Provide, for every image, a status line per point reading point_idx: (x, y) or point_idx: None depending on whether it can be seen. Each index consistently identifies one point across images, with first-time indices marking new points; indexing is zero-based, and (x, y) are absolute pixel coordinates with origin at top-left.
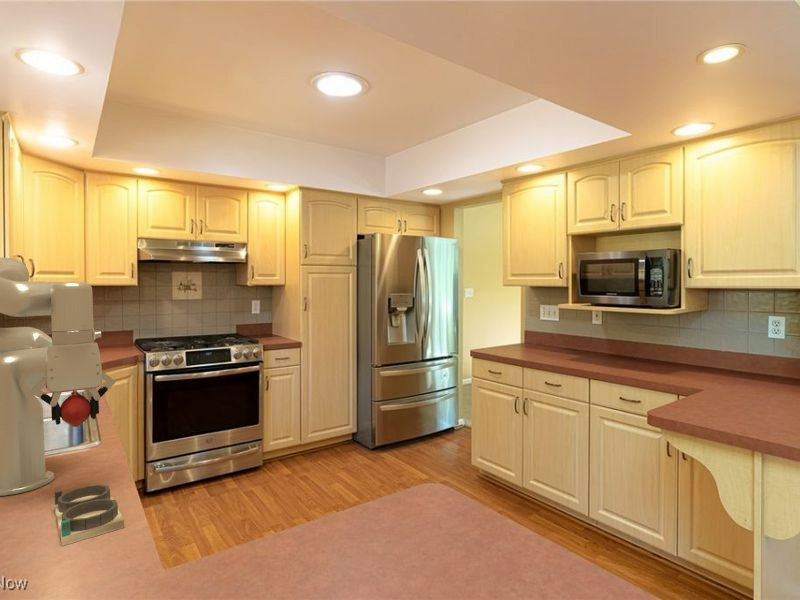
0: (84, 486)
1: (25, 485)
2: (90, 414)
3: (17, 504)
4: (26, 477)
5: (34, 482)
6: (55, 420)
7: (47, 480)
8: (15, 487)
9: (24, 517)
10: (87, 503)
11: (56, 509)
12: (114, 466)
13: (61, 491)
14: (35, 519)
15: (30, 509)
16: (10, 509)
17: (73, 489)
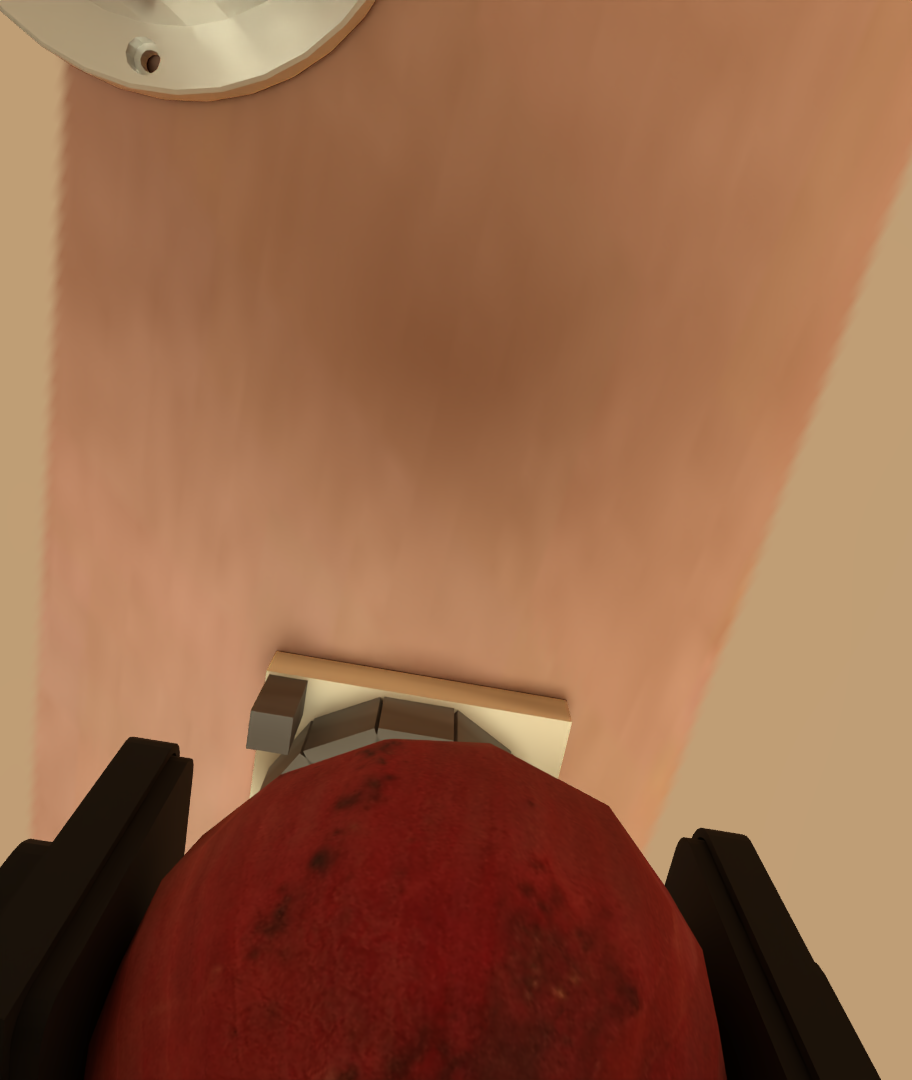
0: (431, 738)
1: (178, 32)
2: (689, 857)
3: (115, 334)
4: (166, 2)
5: (245, 14)
6: (125, 753)
7: (342, 32)
8: (108, 12)
9: (127, 615)
10: None
11: (255, 784)
12: (881, 36)
13: (285, 751)
14: (172, 697)
15: (170, 509)
16: (71, 396)
17: (363, 733)
